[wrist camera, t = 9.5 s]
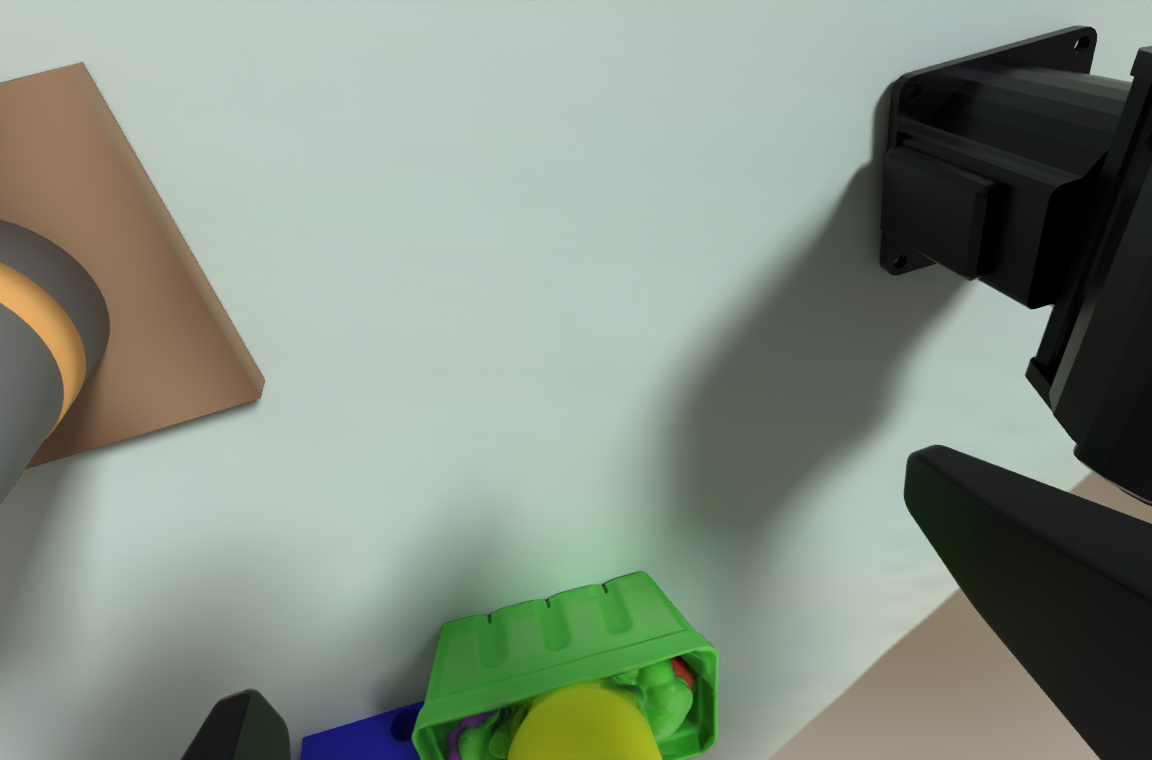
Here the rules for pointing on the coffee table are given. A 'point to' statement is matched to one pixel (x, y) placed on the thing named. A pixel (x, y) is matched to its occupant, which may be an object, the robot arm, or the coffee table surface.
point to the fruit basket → (573, 681)
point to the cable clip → (367, 738)
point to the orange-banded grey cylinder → (42, 342)
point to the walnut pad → (117, 266)
